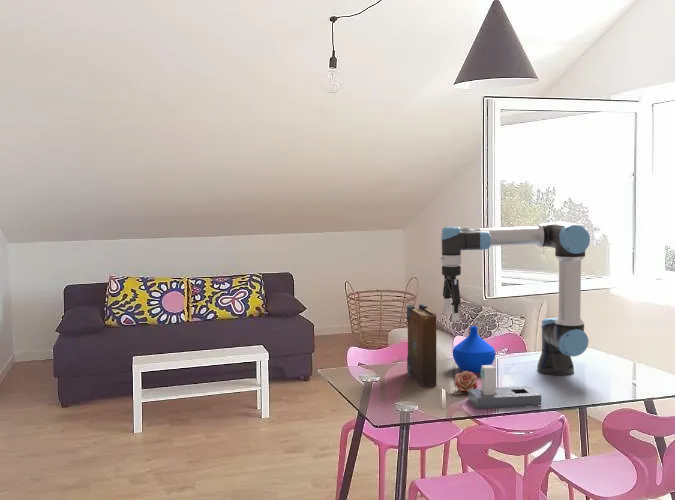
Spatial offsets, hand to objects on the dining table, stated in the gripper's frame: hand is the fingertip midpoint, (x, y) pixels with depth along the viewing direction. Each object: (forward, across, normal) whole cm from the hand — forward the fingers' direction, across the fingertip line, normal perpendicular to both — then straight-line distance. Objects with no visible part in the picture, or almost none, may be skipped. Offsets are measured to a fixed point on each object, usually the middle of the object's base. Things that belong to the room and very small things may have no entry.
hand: (451, 317), depth 301 cm
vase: (+28, -21, +15) cm, 38 cm away
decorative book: (+28, -10, -10) cm, 31 cm away
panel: (+28, +27, +13) cm, 41 cm away
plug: (+27, +27, +7) cm, 39 cm away
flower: (+28, +11, +3) cm, 30 cm away
